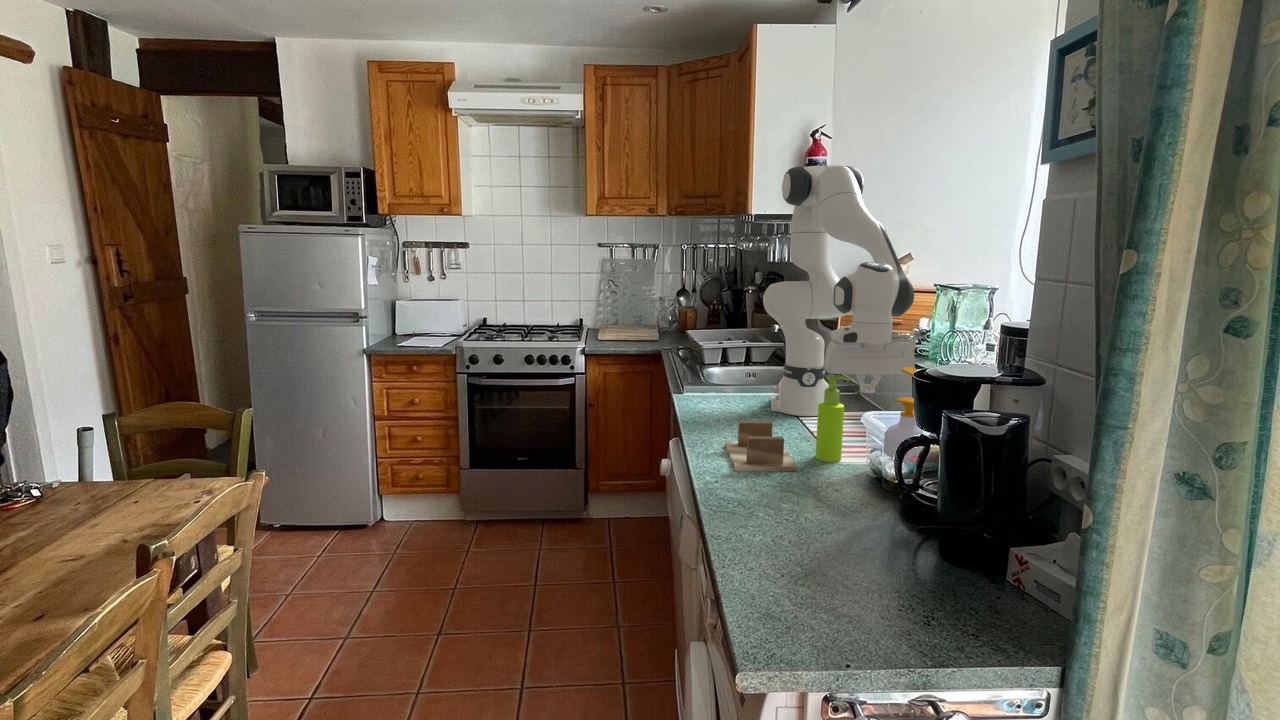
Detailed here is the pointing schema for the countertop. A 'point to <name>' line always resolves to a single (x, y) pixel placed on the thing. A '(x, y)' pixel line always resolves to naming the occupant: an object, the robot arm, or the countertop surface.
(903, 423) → the soap bottle
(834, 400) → the soap dispenser
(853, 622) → the countertop surface
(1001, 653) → the countertop surface
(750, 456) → the u rest
